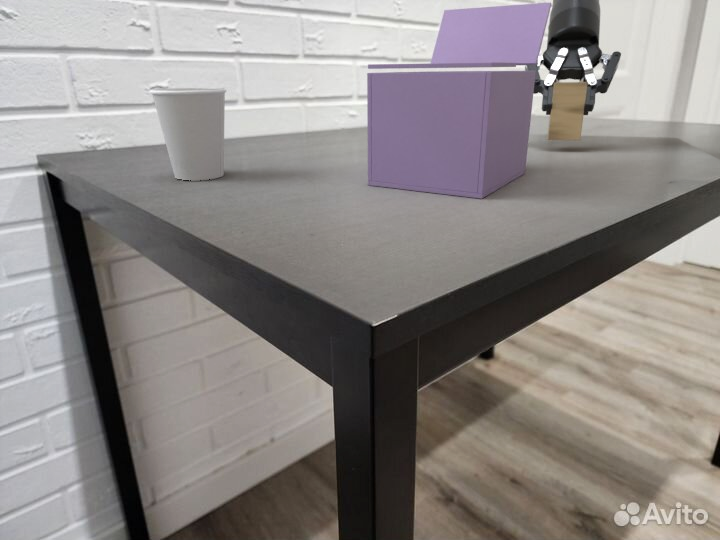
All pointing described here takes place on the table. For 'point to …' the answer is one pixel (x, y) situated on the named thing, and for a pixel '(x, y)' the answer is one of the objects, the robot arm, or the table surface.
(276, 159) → the table surface
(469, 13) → the box lid
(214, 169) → the dixie cup
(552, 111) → the block
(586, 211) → the table surface
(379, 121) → the box
